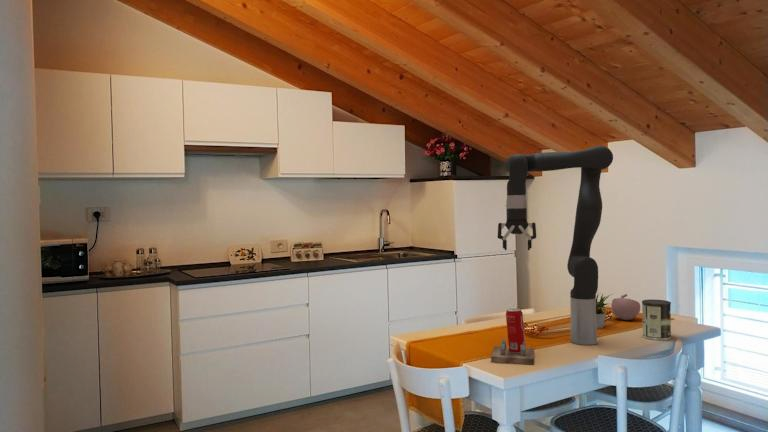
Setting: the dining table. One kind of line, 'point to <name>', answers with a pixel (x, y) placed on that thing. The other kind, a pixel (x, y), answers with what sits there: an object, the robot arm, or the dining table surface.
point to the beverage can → (515, 330)
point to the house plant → (600, 311)
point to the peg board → (512, 354)
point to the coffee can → (656, 319)
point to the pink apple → (625, 308)
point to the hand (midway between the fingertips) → (517, 250)
